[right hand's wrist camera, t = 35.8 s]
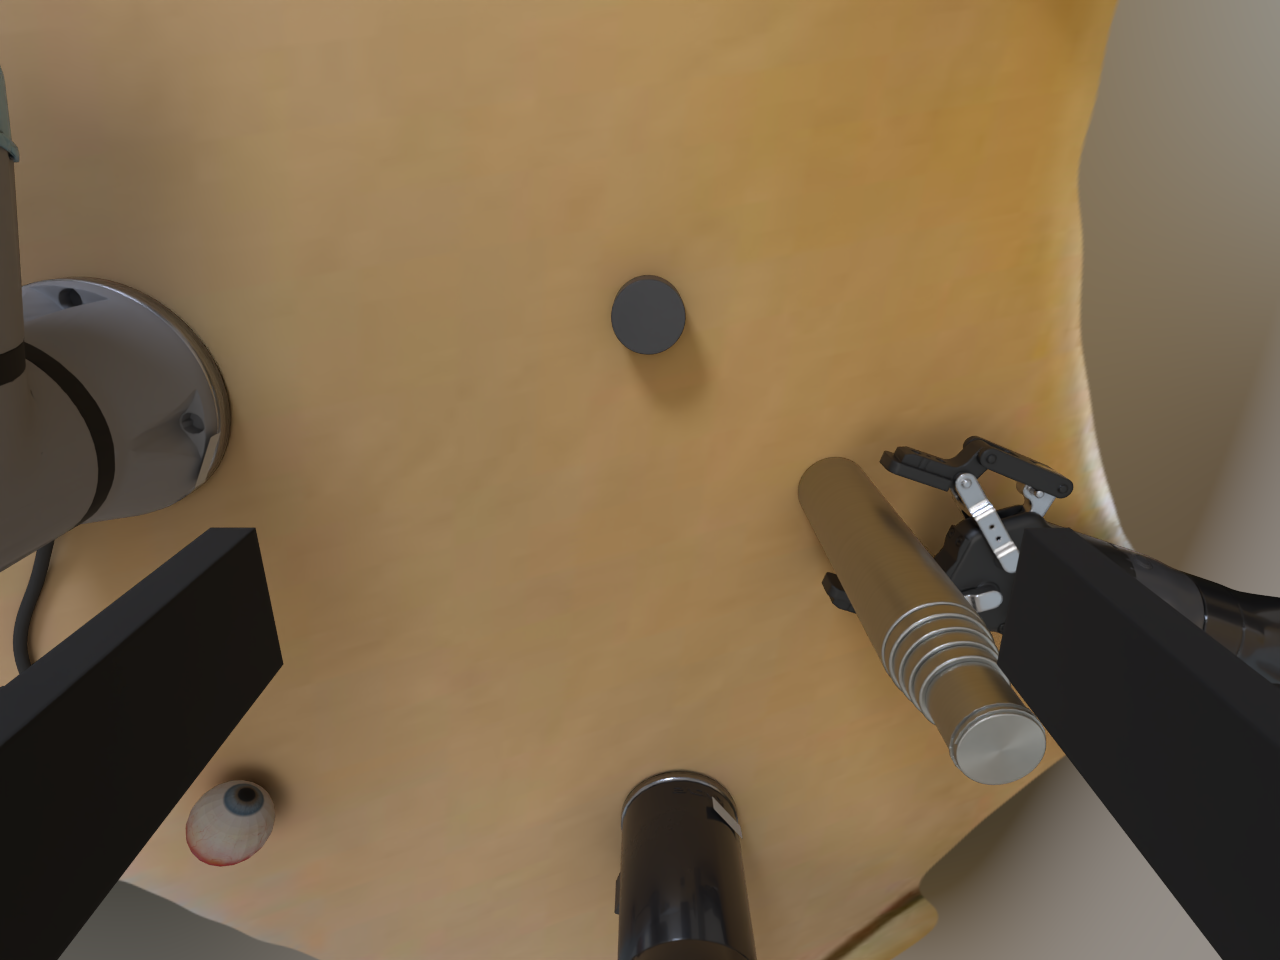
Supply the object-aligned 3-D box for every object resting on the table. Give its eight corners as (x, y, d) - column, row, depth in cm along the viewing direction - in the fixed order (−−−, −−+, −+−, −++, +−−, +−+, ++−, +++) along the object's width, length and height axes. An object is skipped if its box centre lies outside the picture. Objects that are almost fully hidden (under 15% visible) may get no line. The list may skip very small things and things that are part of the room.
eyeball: (301, 781, 59) (265, 842, 53) (271, 832, 61) (234, 896, 55) (230, 749, 58) (186, 808, 52) (202, 801, 60) (156, 864, 54)
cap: (624, 265, 45) (622, 269, 42) (692, 286, 45) (695, 291, 43) (604, 335, 46) (602, 342, 44) (671, 354, 47) (672, 363, 44)
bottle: (877, 465, 49) (1091, 712, 26) (853, 527, 51) (1033, 812, 27) (810, 449, 49) (966, 683, 25) (788, 512, 51) (915, 787, 27)
